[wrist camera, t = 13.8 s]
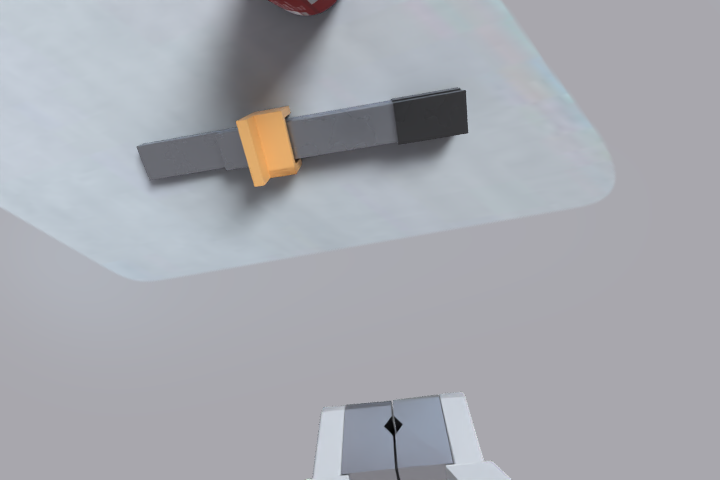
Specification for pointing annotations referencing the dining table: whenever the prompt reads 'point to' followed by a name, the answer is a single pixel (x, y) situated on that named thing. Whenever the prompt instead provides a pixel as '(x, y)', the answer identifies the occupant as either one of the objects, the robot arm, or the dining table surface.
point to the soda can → (304, 6)
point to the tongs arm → (364, 127)
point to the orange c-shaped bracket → (267, 145)
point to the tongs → (207, 148)
